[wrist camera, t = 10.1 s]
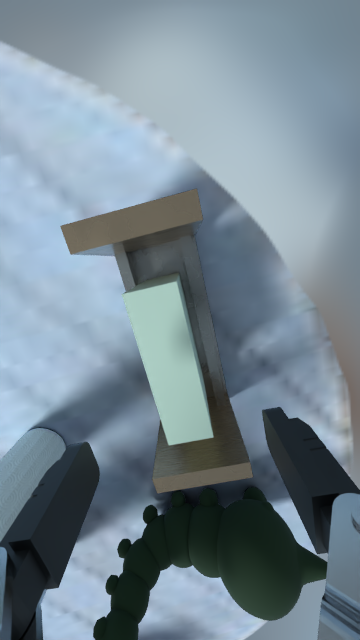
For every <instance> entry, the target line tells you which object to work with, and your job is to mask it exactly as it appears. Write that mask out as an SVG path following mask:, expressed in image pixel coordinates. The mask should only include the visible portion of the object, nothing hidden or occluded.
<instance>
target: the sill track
mask: <svg viewBox="0 0 360 640" xmlns="http://www.w3.org/2000/svg"><path fill="white" fill-rule="evenodd" d="M202 221H203V217H202V212H201V207H200V201H199V196H198V191H197V189H193V190H190V191H186V192H183V193H179V194H175V195H172V196H168V197H164V198H161V199H157V200H153V201H150V202H146V203H142V204H139V205H135V206H131V207H128V208H124V209H120V210H117V211H113V212H110V213H106V214H102V215H99V216H95V217H91V218H88V219H84V220H80V221H77V222H73V223H69V224H66V225H62V226H61V229H62V232H63V235H64V237H65V240H66V243H67V246H68V249H69V251H70V254H74V255H100V256H115V257H116V261H117V264H118V267H119V270H120V274H121V277H122V280H123V283H124V287H125V290H126V292H127V291H129V290H130V289H132V288H134V287H135V286H137V285H139V284H140V283H142V282H144V281H145V280H149V279H153V278H158V277H162V276H166V275H170V274H174V273H178V272H179V275H180V279H181V283H182V288H183V292H184V296H185V301H186V305H187V309H188V314H189V318H190V322H191V327H192V331H193V335H194V340H195V344H196V348H197V352H198V357H199V361H200V365H201V370H202V374H203V379H204V385H205V391H206V397H207V403H208V408H209V414H210V420H211V426H212V431H213V438H208V439H202V440H197V441H191V442H186V443H180V444H174V445H168V442H167V438H166V435H165V432H164V429H163V425H162V422H161V419H160V426H159V433H158V441H157V448H156V455H155V462H154V470H153V477H152V480H153V483H154V486H155V488H156V491H157V493H163V492H169V491H175V490H181V489H187V488H193V487H199V486H205V485H211V484H217V483H223V482H228V481H234V480H240V479H246V478H252V477H253V474H252V469H251V464H250V460H249V457H248V454H247V451H246V448H245V445H244V442H243V439H242V436H241V433H240V430H239V427H238V424H237V421H236V418H235V415H234V412H233V409H232V406H231V403H230V400H229V397H228V394H227V390H226V385H225V380H224V375H223V370H222V366H221V361H220V356H219V351H218V346H217V341H216V337H215V332H214V327H213V322H212V317H211V313H210V308H209V303H208V298H207V293H206V289H205V284H204V279H203V274H202V269H201V265H200V260H199V255H198V250H197V245H196V241H195V234H196V232H197V230H198V228H199V226H200V224H201V223H202Z"/></svg>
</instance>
